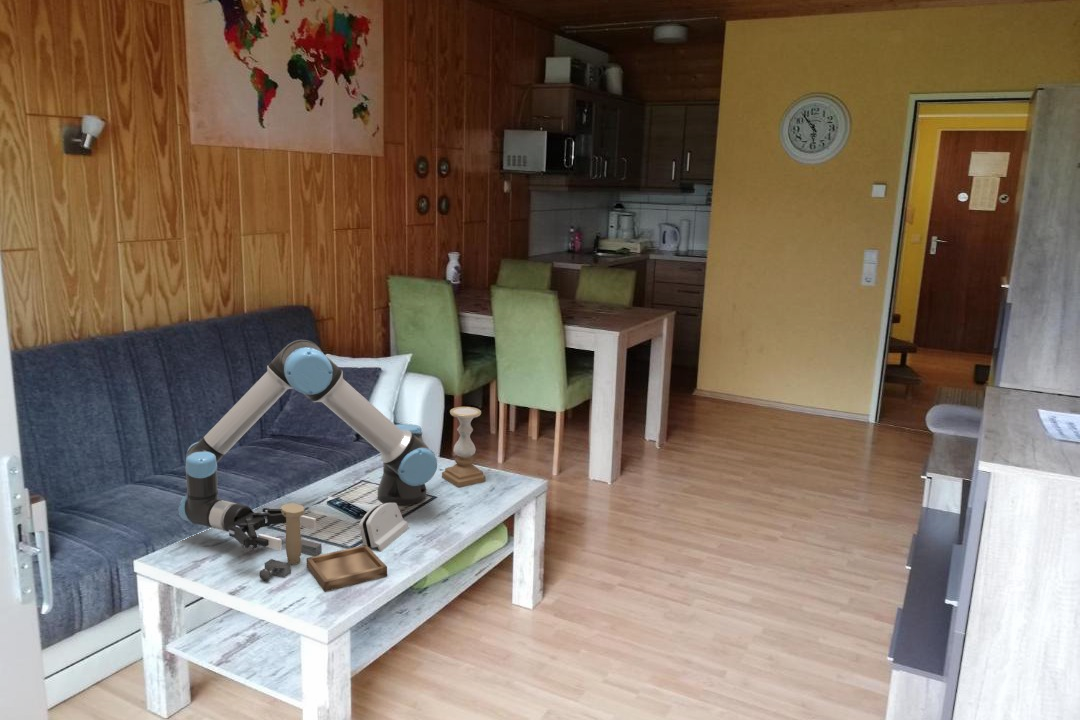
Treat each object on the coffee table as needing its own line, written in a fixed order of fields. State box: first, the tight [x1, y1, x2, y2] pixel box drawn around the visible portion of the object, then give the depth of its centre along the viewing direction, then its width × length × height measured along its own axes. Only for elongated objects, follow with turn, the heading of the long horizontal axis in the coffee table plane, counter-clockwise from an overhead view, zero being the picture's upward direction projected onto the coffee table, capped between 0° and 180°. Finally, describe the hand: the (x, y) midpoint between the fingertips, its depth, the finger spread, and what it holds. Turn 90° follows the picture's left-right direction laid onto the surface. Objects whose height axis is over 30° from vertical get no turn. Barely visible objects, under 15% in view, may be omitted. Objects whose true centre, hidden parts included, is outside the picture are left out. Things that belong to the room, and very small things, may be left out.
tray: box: [305, 545, 388, 592], centre depth 201 cm, size 16×14×2 cm
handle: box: [280, 502, 306, 565], centre depth 203 cm, size 5×6×15 cm
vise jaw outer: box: [258, 558, 292, 582], centre depth 197 cm, size 6×6×3 cm
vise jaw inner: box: [301, 539, 323, 557], centre depth 210 cm, size 2×6×2 cm, turn 69°
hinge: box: [358, 503, 410, 552], centre depth 221 cm, size 17×5×10 cm, turn 161°
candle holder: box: [441, 406, 487, 488], centre depth 263 cm, size 11×11×24 cm
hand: (298, 533), depth 202 cm, fingers open, 13 cm apart
